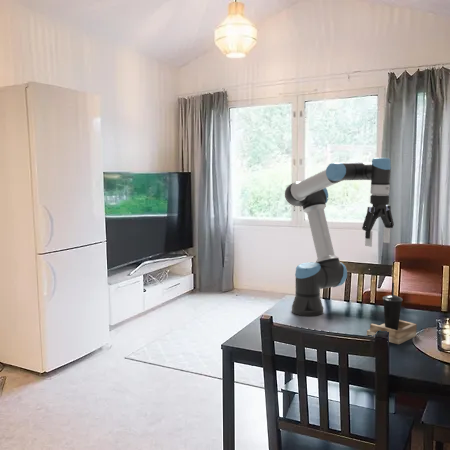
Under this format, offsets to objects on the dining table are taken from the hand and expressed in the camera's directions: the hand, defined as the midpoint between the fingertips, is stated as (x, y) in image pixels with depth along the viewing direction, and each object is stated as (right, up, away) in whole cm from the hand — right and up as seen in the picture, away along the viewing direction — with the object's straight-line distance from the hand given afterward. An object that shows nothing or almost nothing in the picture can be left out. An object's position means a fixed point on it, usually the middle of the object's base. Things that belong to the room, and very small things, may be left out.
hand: (377, 244), depth 194 cm
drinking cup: (+3, -35, -8) cm, 36 cm away
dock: (+3, -37, -8) cm, 38 cm away
